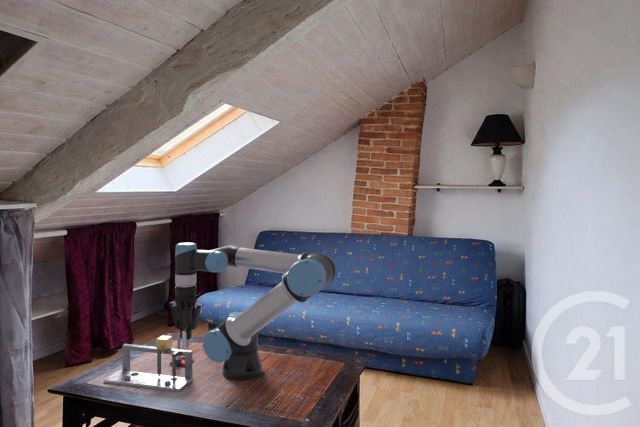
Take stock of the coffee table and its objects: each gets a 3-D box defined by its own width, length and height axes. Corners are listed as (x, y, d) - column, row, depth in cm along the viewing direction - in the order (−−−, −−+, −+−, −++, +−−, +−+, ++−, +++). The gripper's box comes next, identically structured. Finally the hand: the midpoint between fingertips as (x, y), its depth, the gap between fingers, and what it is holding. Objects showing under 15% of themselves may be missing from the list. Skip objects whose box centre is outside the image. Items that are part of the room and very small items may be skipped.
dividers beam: (192, 377, 175) (192, 350, 174) (185, 383, 170) (185, 355, 169) (125, 370, 180) (125, 343, 179) (117, 375, 175) (117, 348, 175)
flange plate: (191, 381, 172) (191, 376, 172) (179, 391, 163) (179, 386, 163) (119, 372, 178) (119, 367, 178) (103, 382, 169) (103, 377, 169)
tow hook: (177, 357, 195) (167, 365, 186) (178, 327, 194) (168, 333, 185) (196, 359, 193) (187, 367, 184) (197, 328, 193) (188, 335, 184)
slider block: (171, 370, 177) (171, 336, 176) (163, 377, 171) (163, 341, 170) (162, 369, 178) (162, 335, 177) (153, 376, 172) (153, 340, 171)
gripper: (206, 283, 174) (206, 345, 175) (174, 281, 176) (174, 342, 178) (197, 288, 166) (197, 352, 168) (164, 285, 169) (164, 349, 171)
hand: (185, 347), depth 173 cm, fingers closed
